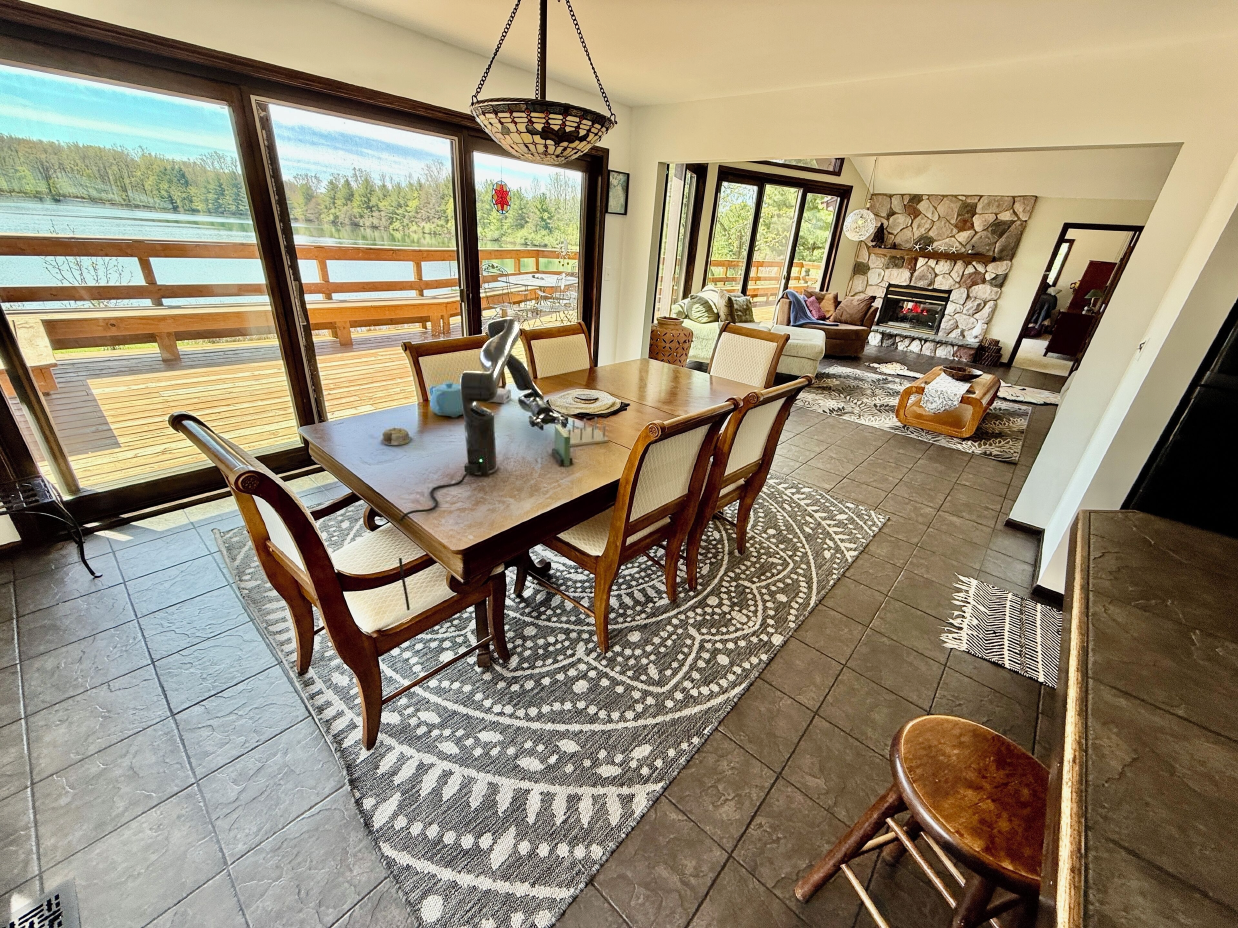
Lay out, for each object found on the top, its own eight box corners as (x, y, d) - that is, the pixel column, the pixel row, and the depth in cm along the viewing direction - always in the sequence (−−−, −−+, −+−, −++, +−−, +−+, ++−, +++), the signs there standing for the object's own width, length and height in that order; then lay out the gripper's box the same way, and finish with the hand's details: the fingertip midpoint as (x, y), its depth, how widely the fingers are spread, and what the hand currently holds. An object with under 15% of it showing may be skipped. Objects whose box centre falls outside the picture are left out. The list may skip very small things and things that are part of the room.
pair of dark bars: (572, 464, 168) (572, 458, 167) (560, 466, 166) (560, 459, 165) (563, 453, 176) (563, 447, 175) (551, 454, 175) (551, 448, 174)
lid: (569, 465, 167) (570, 436, 163) (564, 466, 167) (564, 437, 162) (559, 453, 176) (560, 425, 172) (554, 453, 175) (554, 425, 171)
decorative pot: (469, 405, 216) (467, 376, 211) (473, 417, 203) (471, 386, 197) (430, 408, 210) (427, 378, 205) (432, 420, 197) (429, 388, 191)
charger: (481, 395, 231) (511, 398, 229) (473, 400, 223) (504, 404, 221) (480, 385, 229) (510, 388, 227) (472, 390, 221) (503, 394, 219)
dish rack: (608, 441, 189) (609, 427, 186) (568, 446, 182) (569, 431, 180) (595, 429, 200) (596, 415, 197) (557, 433, 194) (557, 419, 191)
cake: (399, 434, 183) (398, 421, 181) (416, 441, 179) (416, 428, 177) (375, 440, 175) (374, 426, 173) (393, 448, 171) (392, 433, 169)
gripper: (523, 404, 184) (535, 418, 171) (559, 401, 189) (572, 415, 176) (524, 422, 187) (535, 438, 174) (559, 419, 193) (572, 434, 179)
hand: (554, 426), depth 175 cm, fingers open, 8 cm apart
